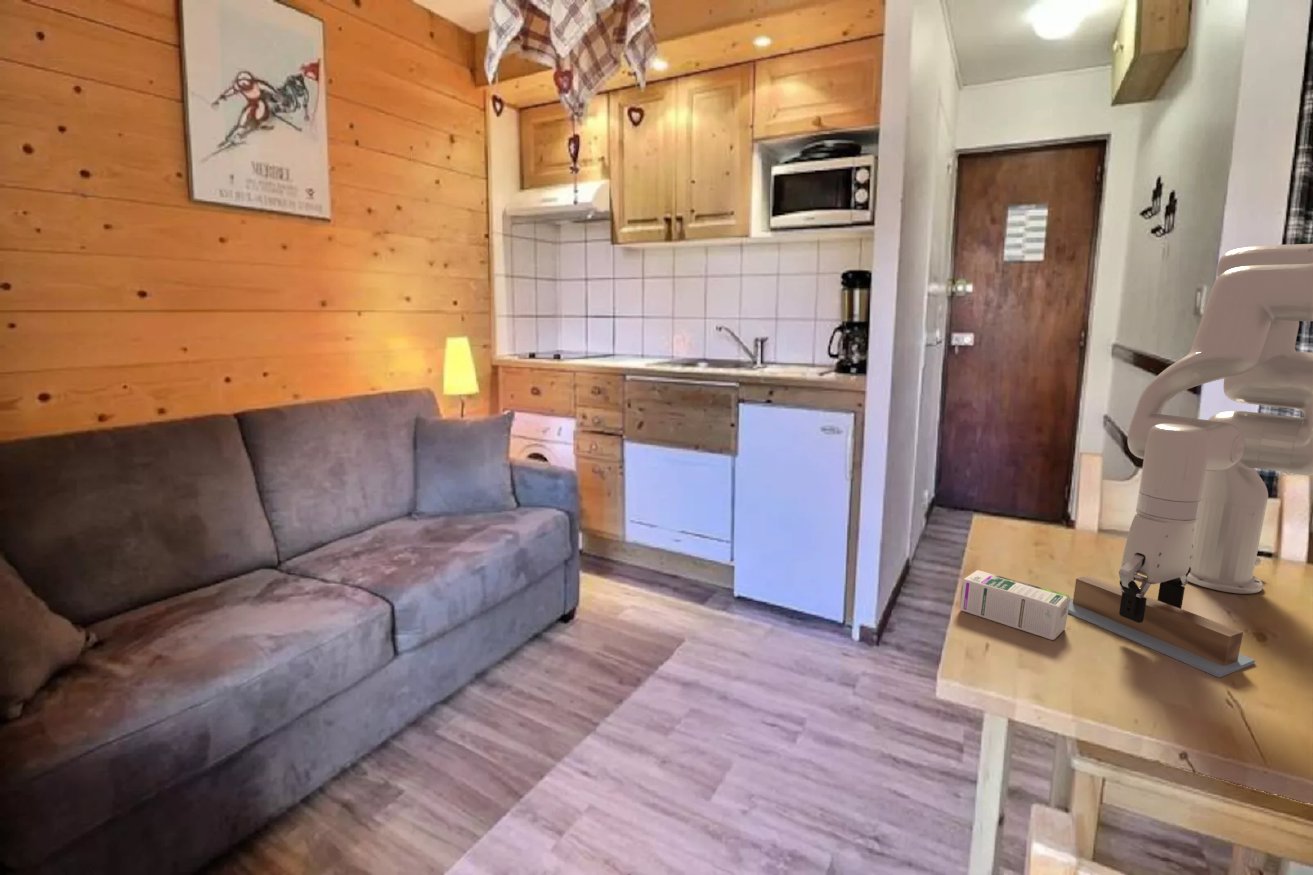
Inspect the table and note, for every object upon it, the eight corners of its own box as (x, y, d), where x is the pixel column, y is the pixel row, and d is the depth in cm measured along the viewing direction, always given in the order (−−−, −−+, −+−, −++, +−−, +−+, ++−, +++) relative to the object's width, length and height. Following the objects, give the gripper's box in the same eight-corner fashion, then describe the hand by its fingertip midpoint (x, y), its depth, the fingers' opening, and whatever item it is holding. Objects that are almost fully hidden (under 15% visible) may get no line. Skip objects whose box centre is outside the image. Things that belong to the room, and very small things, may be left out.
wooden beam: (1085, 600, 117) (1089, 575, 116) (1237, 661, 97) (1243, 631, 97) (1072, 603, 115) (1076, 578, 115) (1224, 666, 96) (1229, 636, 95)
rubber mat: (1088, 597, 119) (1089, 594, 119) (1254, 663, 98) (1255, 659, 98) (1054, 607, 115) (1055, 603, 115) (1219, 677, 94) (1220, 673, 94)
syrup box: (1059, 606, 103) (962, 576, 113) (1054, 642, 104) (958, 609, 114) (1071, 595, 106) (976, 567, 117) (1065, 630, 108) (972, 599, 118)
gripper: (1173, 493, 110) (1157, 593, 113) (1105, 507, 102) (1090, 613, 106) (1228, 506, 103) (1209, 612, 106) (1160, 521, 96) (1141, 634, 99)
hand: (1150, 612), depth 106 cm, fingers open, 9 cm apart
